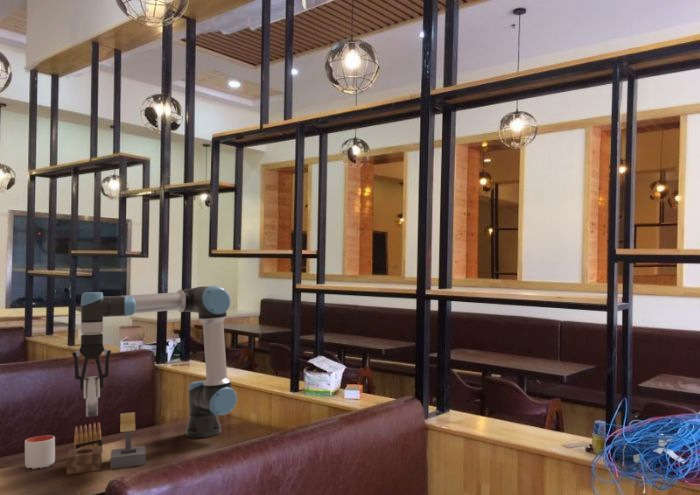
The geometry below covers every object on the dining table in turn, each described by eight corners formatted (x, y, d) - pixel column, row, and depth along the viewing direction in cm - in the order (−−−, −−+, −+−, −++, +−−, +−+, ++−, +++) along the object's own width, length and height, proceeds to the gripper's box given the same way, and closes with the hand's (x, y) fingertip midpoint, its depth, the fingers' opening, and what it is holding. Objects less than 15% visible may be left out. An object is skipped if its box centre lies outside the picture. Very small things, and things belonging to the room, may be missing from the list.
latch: (135, 424, 225) (134, 412, 225) (135, 430, 215) (135, 417, 216) (120, 426, 223) (120, 413, 223) (120, 432, 214) (120, 419, 214)
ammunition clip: (75, 458, 235) (74, 426, 235) (73, 457, 236) (72, 426, 237) (102, 452, 242) (102, 421, 243) (100, 451, 244) (100, 421, 244)
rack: (101, 461, 228) (101, 445, 229) (100, 470, 218) (100, 453, 218) (69, 465, 225) (69, 449, 225) (66, 474, 214) (66, 457, 215)
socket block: (144, 456, 234) (144, 418, 235) (145, 464, 223) (145, 425, 224) (111, 460, 230) (111, 422, 231) (110, 469, 219) (110, 429, 220)
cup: (34, 471, 219) (34, 443, 220) (19, 467, 225) (19, 440, 225) (60, 463, 228) (60, 437, 228) (45, 460, 233) (45, 434, 234)
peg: (98, 414, 226) (98, 376, 226) (97, 416, 222) (97, 377, 223) (86, 415, 224) (86, 376, 225) (85, 417, 220) (85, 378, 221)
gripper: (116, 331, 231) (116, 393, 230) (67, 334, 225) (67, 397, 224) (116, 333, 224) (116, 397, 223) (65, 335, 218) (65, 401, 217)
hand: (91, 397), depth 223 cm, fingers closed on peg, 4 cm apart
